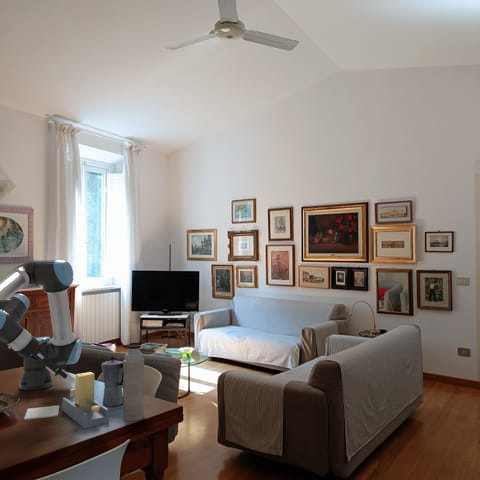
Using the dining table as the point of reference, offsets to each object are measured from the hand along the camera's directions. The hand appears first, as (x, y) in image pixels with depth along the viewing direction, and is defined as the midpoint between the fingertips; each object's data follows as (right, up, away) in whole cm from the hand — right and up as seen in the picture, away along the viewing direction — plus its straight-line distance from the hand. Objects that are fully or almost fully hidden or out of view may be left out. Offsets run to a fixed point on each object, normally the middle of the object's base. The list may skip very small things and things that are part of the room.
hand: (65, 378), depth 166 cm
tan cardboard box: (+6, -14, +5) cm, 16 cm away
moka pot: (+13, -17, +19) cm, 29 cm away
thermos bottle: (+25, -17, +3) cm, 30 cm away
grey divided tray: (+6, -16, +5) cm, 18 cm away
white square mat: (-13, -17, +9) cm, 23 cm away
